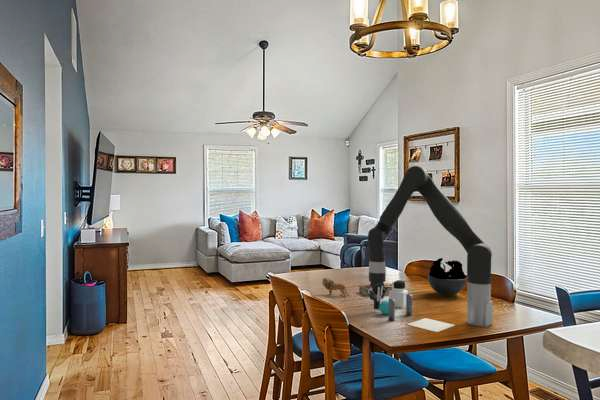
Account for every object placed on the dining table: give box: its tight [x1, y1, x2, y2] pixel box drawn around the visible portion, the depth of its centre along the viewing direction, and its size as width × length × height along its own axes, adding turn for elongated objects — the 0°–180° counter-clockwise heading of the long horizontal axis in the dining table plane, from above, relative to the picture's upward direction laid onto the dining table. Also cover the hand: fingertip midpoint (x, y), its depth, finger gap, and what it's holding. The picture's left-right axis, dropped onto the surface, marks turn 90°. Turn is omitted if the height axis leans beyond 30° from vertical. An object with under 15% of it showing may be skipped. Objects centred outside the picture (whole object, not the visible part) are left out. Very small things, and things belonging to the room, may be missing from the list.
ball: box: [378, 300, 389, 315], centre depth 208 cm, size 6×6×6 cm
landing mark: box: [406, 317, 456, 333], centre depth 192 cm, size 14×14×1 cm
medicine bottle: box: [388, 279, 409, 309], centre depth 224 cm, size 7×7×12 cm
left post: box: [387, 298, 396, 322], centre depth 199 cm, size 3×3×9 cm
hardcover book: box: [359, 283, 393, 297], centre depth 251 cm, size 12×21×4 cm, turn 107°
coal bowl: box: [427, 257, 468, 297], centre depth 247 cm, size 20×20×19 cm
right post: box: [405, 293, 413, 317], centre depth 208 cm, size 3×3×9 cm
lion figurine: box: [321, 277, 350, 298], centre depth 245 cm, size 15×5×9 cm, turn 73°
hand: (376, 308), depth 213 cm, fingers closed
